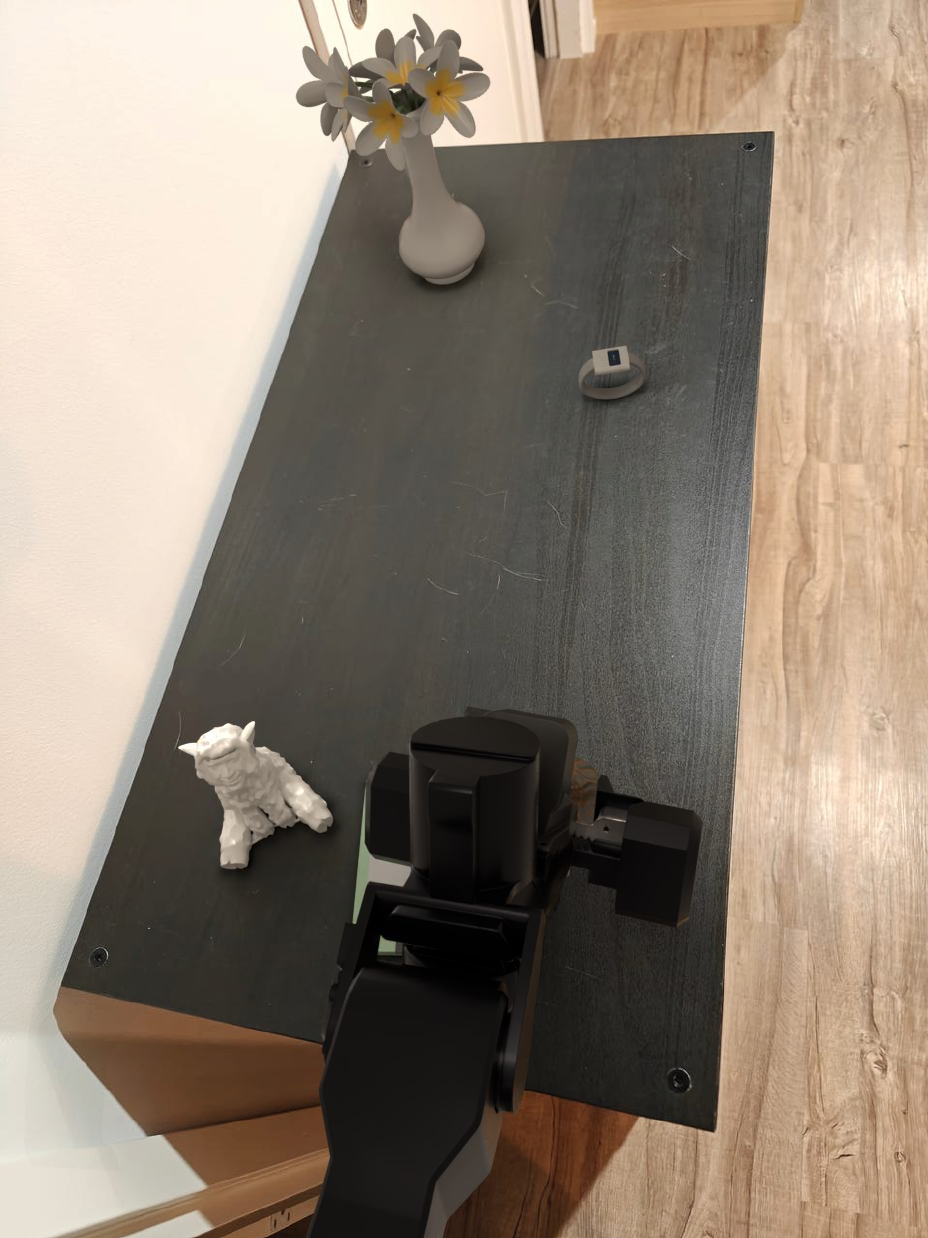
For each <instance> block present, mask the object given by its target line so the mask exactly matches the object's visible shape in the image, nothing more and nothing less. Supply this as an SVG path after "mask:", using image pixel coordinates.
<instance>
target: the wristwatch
mask: <svg viewBox="0 0 928 1238" xmlns="http://www.w3.org/2000/svg"><path fill="white" fill-rule="evenodd" d="M591 352H592V357H591V358H590V359H588V360H587V361H586V362H585V363H584V364H583V365H582V367H581V369H580V370H579V373H578V379H577V380H578V384H579V385H578V386H579V387H578V388H579V389H580V392H581V393H582V394H583V395H584V396H586V397H589V398H591V399H597V400H616V399H621V398H625V397H627V396H629V395H632V394H633V393H634V392H636V391H638V390H639V389H640V388H641V387H642V386H643V385H644V384H645V382H646V379H647V372H646V367H645V364H644V362H643V360H642V359H641V358H640V357H639V356H637V355H636V354H635V353H632V352H630V351H629V350H628V347H627V345H622V346H621V345H620V346H615V347H609V348H603V349H596V350H592V351H591ZM630 365H631V366H634V367H636V369H638V370H639V372H638V374H637V375H636V376H635V377H634V378H633V379H631V380H630V381H629V382H626V383H625V384H622V385H620V386H615V387H608V388H607V387H606V388H605V387H597V386H596V387H595V386H592V385H589V384H588V383H587V382H585V380H586V378H587V377H588V375H589V374H590V373H591V372H592V371H594V375H595V377H596V376H604V375H609V374H616V373H622V372H628V371H631V366H630Z"/></svg>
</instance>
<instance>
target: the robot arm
mask: <svg viewBox="0 0 928 1238" xmlns="http://www.w3.org/2000/svg"><path fill="white" fill-rule="evenodd" d="M408 739H409V742H408V743H409V744H408V754H406V753H405V754H404V753H400V752H395V751H388V752H387V753H386V754H384V755H383V756H382V757H380V758H379V759H378V760H377V762H376V763H375V764H374V765H373V766H371V768H370V769H369V772H368V775H367V778H366V780H367V781H366V780H365V787H366V795H365V794H364V797H365V840H364V843H365V845H366V847H367V849H368V851H369V853H370V854H371V855H372V856H373V857H374V858H375V859H378V860H382V861H387V862H391V863H395V864H400V865H404V866H409V867H411V872H410V875H409V877H408V878H407V880H406V882H405V883H404V885H403V886H397V885H391V884H384V883H378V882H372V881H369V882H368V883H367V886H366V889H365V892H364V896H363V900H362V903H361V907H360V910H359V914H358V917H357V921H356V924H354V923H353V922H347V921H346V922H344V927H343V931H342V934H341V935H342V936H341V940H340V945H339V949H338V954H337V958H336V963H335V967H334V972H333V976H332V980H331V985H330V989H329V993H328V997H327V1002H326V1007H325V1012H324V1014H323V1015H324V1016H323V1021H322V1025H321V1039H322V1042H323V1044H322V1047H321V1055H322V1056H323V1061H324V1067H323V1071H322V1074H321V1078H320V1082H319V1086H318V1098H319V1104H320V1109H321V1114H322V1120H323V1125H324V1131H325V1138H326V1142H327V1148H328V1154H329V1159H328V1163H327V1167H326V1171H325V1173H324V1177H323V1181H322V1185H321V1187H320V1192H319V1195H318V1199H317V1201H316V1205H315V1208H314V1211H313V1214H312V1218H311V1220H310V1222H309V1226H308V1230H307V1233H306V1236H305V1238H443V1237H444V1234H445V1230H446V1227H447V1222H448V1220H449V1219H450V1218H451V1216H452V1215H453V1214H454V1213H455V1212H456V1211H457V1210H458V1209H459V1208H460V1207H461V1205H462V1204H463V1203H464V1202H465V1201H466V1200H467V1199H468V1198H469V1197H470V1196H471V1195H472V1193H474V1192H475V1190H476V1189H477V1188H478V1187H479V1186H480V1185H481V1184H482V1183H483V1182H484V1180H486V1178H487V1177H488V1176H489V1174H491V1171H492V1168H493V1164H494V1160H495V1155H496V1151H497V1146H498V1142H499V1140H500V1139H499V1138H500V1134H501V1130H502V1125H503V1122H504V1117H505V1113H510V1114H514V1115H515V1114H518V1112H519V1109H520V1108H521V1107H520V1106H521V1103H522V1101H523V1097H524V1092H525V1087H526V1082H527V1076H528V1070H529V1064H530V1057H531V1056H530V1055H531V1048H532V1041H533V1031H534V1023H535V1015H536V1008H537V998H538V991H539V990H538V989H539V982H540V975H541V965H542V959H543V958H542V957H543V948H544V946H543V945H544V935H545V932H546V930H547V927H548V924H549V922H550V919H551V917H552V914H553V912H557V910H558V908H559V904H560V902H561V896H562V895H561V893H562V889H563V886H564V884H565V881H566V879H567V878H568V877H569V875H570V874H571V871H572V870H571V869H572V867H575V868H581V869H584V870H588V871H587V879H586V883H587V884H591V885H595V886H599V887H605V888H609V889H612V890H616V892H615V901H614V913H615V915H618V916H623V917H627V918H631V919H636V920H641V921H645V922H649V923H654V924H658V925H662V926H667V927H671V928H675V929H678V928H679V927H680V926H682V925H683V924H684V923H686V922H687V921H689V920H690V917H691V916H690V915H691V910H692V903H693V897H694V890H695V883H696V875H697V868H698V862H699V855H700V850H701V849H700V848H701V841H702V835H703V828H704V821H703V819H702V818H701V817H700V815H699V814H698V813H697V812H696V811H695V810H693V809H690V808H689V809H688V808H683V807H680V806H679V807H678V806H673V805H669V804H662V803H657V802H653V801H647V800H646V801H645V799H643V798H642V797H639V796H636V795H630V794H624V793H619V792H616V791H615V790H614V787H613V784H612V783H611V781H610V778H609V777H608V775H607V774H606V775H605V774H600V777H599V779H598V781H597V790H596V799H595V809H594V819H593V823H589V822H584V821H579V820H577V814H578V806H574V805H572V799H571V798H570V797H569V792H570V786H571V779H572V772H573V766H574V759H575V757H576V752H577V749H578V743H579V732H578V729H577V727H576V726H575V724H574V722H573V723H572V722H571V720H569V719H566V718H563V717H558V716H550V715H545V714H541V713H540V714H539V713H534V712H530V711H529V712H528V711H522V710H518V709H513V708H510V709H509V708H507V709H498V710H497V709H496V710H491V709H485V708H480V707H479V708H478V707H473V706H466V707H465V709H464V712H463V716H458V717H457V716H455V717H450V718H445V719H440V720H436V721H433V722H430V723H428V724H425V725H423V726H421V727H420V728H418V729H417V730H416V731H414V732H413V733H412V734H411V736H410V738H408ZM381 936H382V938H383V939H385V940H387V941H393V942H398V943H403V946H402V955H401V957H402V958H401V959H402V962H396V961H390V960H386V959H381V958H380V959H378V956H379V955H378V950H379V944H380V938H381Z"/></svg>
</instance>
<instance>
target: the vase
mask: <svg viewBox="0 0 928 1238" xmlns="http://www.w3.org/2000/svg"><path fill="white" fill-rule="evenodd" d="M600 776H601V774H599V773H598V771H597V770H596V769H595V768H594V767H593V766H592V765H591V764H589V763H588V762H586V761H585V760H583V759H581V758H579V757H577V756H575V759H574V766H573V772H572V779H571V786H570V792H569V797H570V798H571V799H572V805H574V806H578V814H577V820H579V821H584V822H589V823H593V819H594V809H595V799H596V790H597V781H598V779H599V777H600Z"/></svg>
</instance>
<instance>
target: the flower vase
mask: <svg viewBox="0 0 928 1238" xmlns="http://www.w3.org/2000/svg"><path fill="white" fill-rule="evenodd" d="M412 19H413V22H414V24H415V26H416V28H413V29H410V30H409V31H408V32H407V33H406V34H404V35H403V36H402V37H400V38H399V39H398V41H396V43H395V39H394V35H393V32H392V31H391V30H390V29H389V28H386V27H385V28H383V29H381V30H380V31H379V33H378V35H377V37H376V39H375V44H374V50H375V55H376V57H368V58H365V59H363V60H360V61H357V62H355V63H354V64H352V65H351V66H350V67H348V65H345V63H344V61H343V59H342V56H341V55H340V52H339V49H338V48H337V47H336V46H334V47H333V48H332V53H331V54H330V56H329V57H328V61H327V63H325V61H323V59H322V58H321V57H320V56H319V54H318V53H317V52H316V51H315V50H314V49H313V48H312V47H310V46H308V45H304V46H303V47H302V50H301V51H302V52H301V53H302V58H303V62H304V64H305V67H306V68H307V70H308V71H309V73H310V74H311V75H312V76H313V77H314V78H316V80H310V81H308V82H305V83H304V84H302V85H300V86H299V88H298V89H297V91H296V93H295V99H296V102H297V104H298V105H300V106H302V107H304V108H315V107H318V106H321V105H323V106H322V107H321V110H320V117H319V118H320V119H319V120H320V127H321V131H322V134H323V135H324V136H325V137H329V136H330V139H331V142H332V143H334V142H335V141H336V139H337V138H338V136H339V135H340V134H341V132H343V134H346V133H347V130H348V127H349V125H350V123H351V121H352V118H354V119H356V120H358V121H360V122H363V123H368V124H366V125H365V126H363V128H362V129H361V130H360V132H358V135H357V137H356V139H355V142H354V149H355V152H356V153H357V154H358V156H361V157H368V156H371V155H373V154H374V153H375V152H376V151H378V150H379V148H380V147H382V145H383V144H384V150H385V153H386V156H387V158H388V161H389V163H390V164H391V165H392V166H393V167H394V169H395V170H397V171H399V172H401V171H404V170H405V169H407V173H408V174H407V175H408V177H409V182H410V187H411V195H412V203H411V211H410V213H409V214H408V215H407V217H406V218H405V220H404V222H403V224H402V225H401V228H400V231H399V235H398V241H397V243H398V246H397V247H398V253H399V257H400V259H401V260H402V262H403V264H404V265H405V267H407V268H408V269H409V270H410V271H412V273H414V274H415V275H418V276H420V277H422V278H423V279H425V281H427V282H429V283H431V284H434V285H439V286H441V285H442V286H443V285H451V284H455V283H457V282H459V281H461V280H463V279H465V278H466V277H467V276H468V275H469V274H470V273H471V272H472V271H473V268H474V266H475V263H476V261H478V259H479V257H480V255H481V253H482V252H483V249H484V246H485V242H486V241H485V240H486V232H485V231H486V230H485V227H484V224H483V221H482V220H481V219H480V217H479V216H478V214H477V212H475V210H474V209H472V208H470V207H469V206H468V205H467V204H465V203H464V202H461V201H459V200H456V199H455V198H454V197H453V196H452V195H451V193H450V192H449V190H448V187H447V186H446V184H445V181H444V178H443V175H442V171H441V169H440V165H439V162H438V159H437V154H436V151H435V147H434V144H433V139H432V138H433V137H432V136H433V135H434V134H435V133H437V131H439V130H440V128H442V125H443V124H444V121H445V118H446V120H447V121H448V122H449V124H450V125H451V126H452V127H453V129H454V130H455V131H456V132H457V133H458V134H459V135H461V136H462V137H463V138H466V139H471V138H473V137H474V136H475V134H476V130H477V129H476V128H477V125H476V120H475V118H474V116H473V113H472V112H471V110H470V109H469V107H468V106H467V105H466V104H465V103H464V102H469V101H473V100H476V99H478V98H480V97H481V96H483V95H484V94H485V93H487V91H488V90H489V88H490V86H491V78H490V77H489V75H487V74H486V73H483V71H484V67H483V66H482V65H481V64H480V63H478V62H477V61H475V60H473V59H472V58H470V57H466V56H460V49H461V47H462V37H461V36H460V34H459V33H458V32H457V31H456V30H454V29H450V28H447V29H444V30H443V31H441V32H440V34H439V35H438V37H437V39H436V41H435V34H434V32H433V30H432V28H431V27H430V25H429V24H428V23H427V22H426V21H425V19H423V18H422V16H420V15H418V14H417V13H412ZM417 32H418V34H419V35H417ZM414 40H416V41H417V43H418V44H419V46H420V48H421V49H422V51H423V52H422V53H421V54H420V55H419V56H418V59H417V47H416V44H415V41H414ZM464 72H468V73H464ZM463 73H464V74H463ZM458 74H460V75H459V76H458ZM353 78H357V79H368V80H365V81H354V79H353ZM393 90H397V91H395V92H394V91H393ZM368 92H371V96H370V95H365V94H366V93H368ZM384 142H385V143H384Z"/></svg>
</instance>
